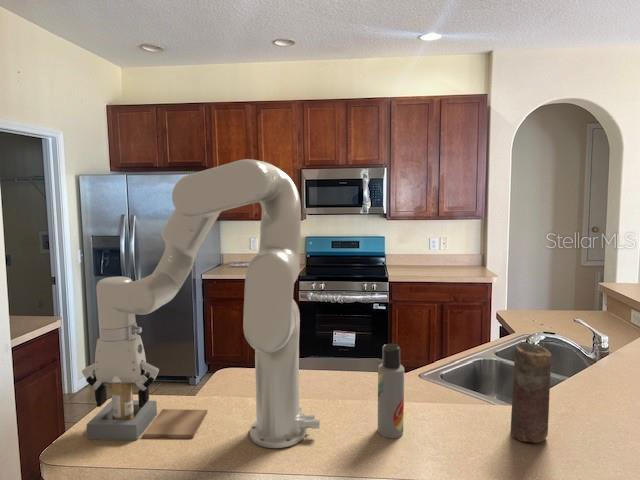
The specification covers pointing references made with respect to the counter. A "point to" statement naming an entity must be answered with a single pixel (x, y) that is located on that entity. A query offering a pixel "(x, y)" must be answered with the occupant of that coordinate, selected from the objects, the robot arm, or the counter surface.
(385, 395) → the lotion bottle
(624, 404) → the counter surface
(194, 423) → the coaster board
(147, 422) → the grey square tray
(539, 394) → the candle
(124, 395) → the sprinkles bottle
